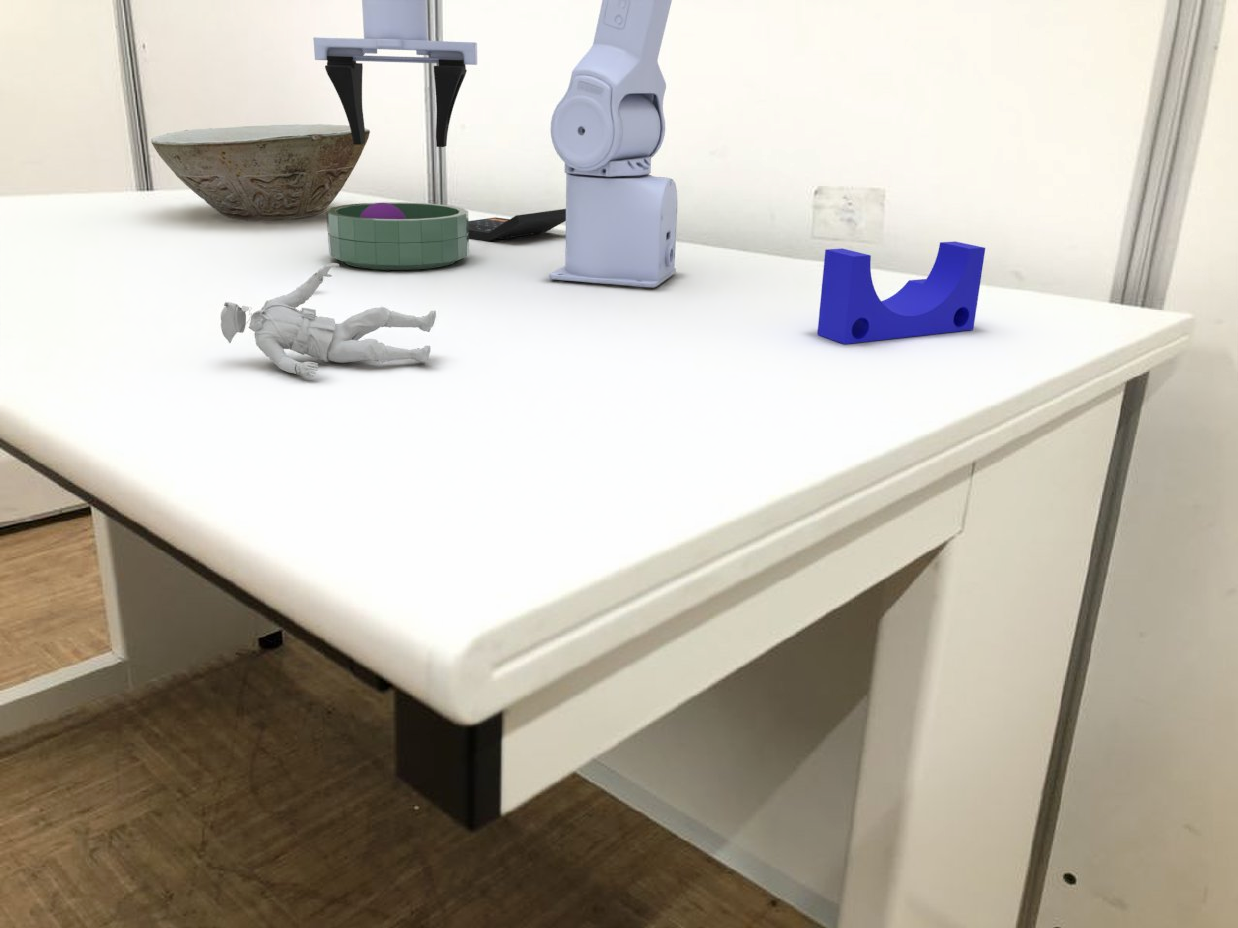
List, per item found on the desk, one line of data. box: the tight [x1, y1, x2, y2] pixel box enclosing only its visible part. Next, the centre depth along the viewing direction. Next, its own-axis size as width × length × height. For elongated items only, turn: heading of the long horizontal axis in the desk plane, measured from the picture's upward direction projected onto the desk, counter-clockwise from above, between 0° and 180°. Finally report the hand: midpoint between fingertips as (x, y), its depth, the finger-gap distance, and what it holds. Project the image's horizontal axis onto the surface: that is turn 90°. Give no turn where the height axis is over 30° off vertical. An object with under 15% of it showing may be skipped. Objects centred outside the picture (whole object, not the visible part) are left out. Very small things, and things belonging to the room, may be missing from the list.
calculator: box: [468, 208, 566, 242], centre depth 115 cm, size 9×12×3 cm
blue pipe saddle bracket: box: [816, 240, 986, 345], centre depth 77 cm, size 12×4×6 cm, turn 118°
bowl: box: [150, 123, 371, 221], centre depth 122 cm, size 24×24×10 cm
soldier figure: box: [220, 262, 437, 378], centre depth 64 cm, size 8×5×12 cm
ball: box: [360, 202, 406, 219], centre depth 98 cm, size 5×5×5 cm
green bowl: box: [325, 201, 470, 271], centre depth 98 cm, size 13×13×4 cm
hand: (400, 145), depth 100 cm, fingers open, 7 cm apart
